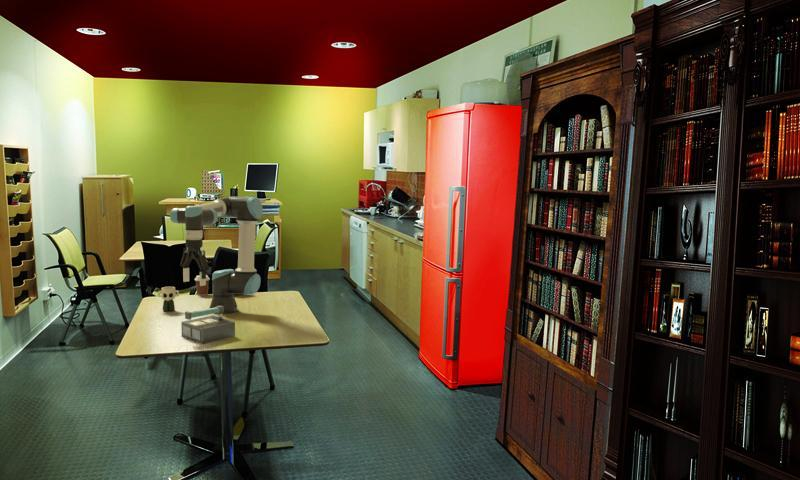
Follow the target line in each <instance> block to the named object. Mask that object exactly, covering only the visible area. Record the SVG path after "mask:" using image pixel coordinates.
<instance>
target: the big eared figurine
mask: <svg viewBox="0 0 800 480" xmlns="http://www.w3.org/2000/svg"><path fill="white" fill-rule="evenodd" d="M179 296H180V291H179V290H176V287H175V286H164V287H161V290H159V291H157V297H158V298H161V299H162V300H163V301H162V302H163V305H162V310H163V311H165V312H167V311H169V312H172V311H174V310H175V309H176V307H175V306H176V305H175V302H174V300H175V298H176V297H179Z"/></svg>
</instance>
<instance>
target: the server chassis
mask: <svg viewBox="0 0 800 480" xmlns="http://www.w3.org/2000/svg"><path fill="white" fill-rule="evenodd" d="M223 317H224V315H223V313H217V316H216V315H209V316H204V317H203V316H202V317H200V318H193V319H190V320H188V319H187V320H184V321H181V337H182V338H185V339H189V340H191V341H193V342H197V343H200V344H202V345H205V344H208V343H213V342H219V341H221V340H226V339H230V338H233V337H234V338H235V337H236V322H235V321H232V320H229V319H227V318H226V319H225V318H223Z"/></svg>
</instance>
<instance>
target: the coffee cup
mask: <svg viewBox="0 0 800 480" xmlns="http://www.w3.org/2000/svg"><path fill="white" fill-rule="evenodd" d="M210 280H211V279H210V277H209V276H208V275H207V274H206V285H204V286H200V274H199V275H196V277H195V278H194V281H195V286H196V287H195V288H196V296H199V297H200V296H202V297H203V296H208V293H209V283H210V282H209V281H210Z"/></svg>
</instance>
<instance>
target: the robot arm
mask: <svg viewBox="0 0 800 480" xmlns="http://www.w3.org/2000/svg"><path fill="white" fill-rule="evenodd" d="M263 211H264V210H263V205H262V202H261V200H260V199H259V198H258V197H254V196H237V195H235V196H234V195H233V196H232V195H230V196H225V197H222V198H217V199H214V200H212V202H208V203H207V202H206V203H203V204H197V205H188V206H186V207H174V208H172V209H171V210H170V212H169V219H170V221H171V222H172V223H174V224H181V225H182V224H183V225H185V228H184V229H185V247H183V252H182V256H181V261H180V263H179V267H181V268H182V277H183V278H182V279H183V283H186V282H190V264H191V262H192V260H194V261H196V264H197V266H198V268H199V275H200V286H204V285H206V275H207V272H208V271H210V267H209V264H208V260H207V257H206V251H205V250H204V249H203V250H201V248H203V237H204V236H203V234H204V233H203V226H208V225H209V226H211V225H214V224H216V223H217V222H218V219H219V217H220V218H221V217H228V218H229V217H230V218H236V222H237V223H238V248H237V249H238V250H237V251H238V252H237V253H238V254H237V256H238V257H237V258H238V259H237V268H235V270H234V269H232V268H228V269H227V268H226V269H221V270H216V271H214V272H213V273H212V278H211V282H212V298H211V302H210V305H209V308H208V309H210V308H215V307H217V306H224V312H223V314H231V313H235V312H237V311H238V304H237V301H236V299H235V295H234V293H235V294H244V295H245V296H248V295H255V294H256V293H257V292H258V290H259V289H260V286H261V282H262V281H261V279H262V278H261V275H260V274H258V273H257V272H258V271H257V269H256V268H255V243H256V241H255V240H256V224H257V223H258V222H259V219H261V218H262V216H263V213H264V212H263Z"/></svg>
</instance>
